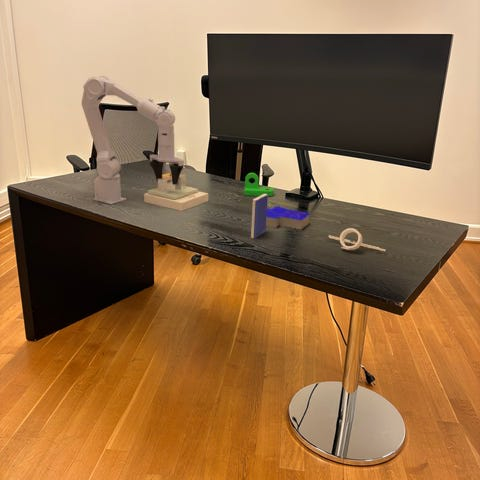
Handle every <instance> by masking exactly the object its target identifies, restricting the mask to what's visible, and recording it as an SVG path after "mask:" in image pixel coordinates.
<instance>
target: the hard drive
mask: <svg viewBox="0 0 480 480" xmlns="http://www.w3.org/2000/svg"><path fill="white" fill-rule="evenodd" d="M268 197H269V196H268V194H263V195H261V196H256V197H255V198H253V199H252V209H251V233H250V238H251V239H257V238H258V237H260V236H261V235H263V234H265V233H266V232H267V229H266V228H267V226H266V217H267V209H268V199H269V198H268Z"/></svg>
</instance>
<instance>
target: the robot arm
mask: <svg viewBox="0 0 480 480" xmlns="http://www.w3.org/2000/svg"><path fill="white" fill-rule="evenodd" d="M82 87H83V92H82V93H83V94H82V98H81V107H82V110H83V113H84V117H85V119H86V122H87V125H88V129H89V132H90V135H91V138H92V140H93V144H94V148H95V150H96V154H97V155H96V158H95V159H96V164H97V165H96V166H97V167H96V172H97V174H98V175H97V176H96V177H95V179H94V181H93V186H94V188H93V189H94V195H95V196H94V198H93V201H97V202H102V203H106V204H108V205H114V204H117V203H120V202H123V201H126V200H127V198H126V197H122V189H121V175H120V173H119V172H120V170H121V169H122V163H121V161H120V160H119V158H118V157H117V155H116V153H115V151H114V150H113V149H112V147H111V143H110V140H109V137H108V133H107V131H106V130H107V129H106V126H105V124H104V121H103V118H102V114H101V112H100V107H99V105H100V103H101V102H102V100H103V99H104V98H105V97H106V96H116V97H118V98H119V99H121V100H123V101H125V102H126V103H128V104H130V105H133V107H136V109H137V112H138V113H139V114H140V115H142V116H144V117H145V118H147V119H149V120H150V121H152V122H155V124H156V125H157V129H158V132H157V141H158V142H157V143H158V144H157V145H158V149H157V150H158V154H150V155H149V161H151V162H149V165H150V167H151V168H152V170H153V173H154V175H155V179H156V182H158V179H159V178H162V175H163V169H164V168H163V167H164V163H165V164H169V163H170V164H174V165H171V166H169V170H170V172H171V174H172V184H173V185H175V184H178V179H179V176H180V174H181V173H182V171H183V169H184V167H185V159H181V158H179V157H176V156H175V131H174V130H175V126H174V124H175V122H176V116H175V114H174V112H173V111H172V110H170V109H166V107H165V106H163V105H162V106H161V105H159V104H157V103H156V102H154V99H152V98H151V97H150V98H148V97H144V98H140V97H139V96H137V95H136V94H134V93H133V92H131V91H130V90H128V89H127V88H125V87H124V86H122V85H121V84H119V83H118V82H116V81H115V80H112V79H110V78H108V77H107V76H105V75H100V76H91V77H89V78H88V79H87V80H86V81H85V83H84V84H83V86H82Z"/></svg>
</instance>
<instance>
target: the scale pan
mask: <svg viewBox="0 0 480 480" xmlns="http://www.w3.org/2000/svg"><path fill="white" fill-rule="evenodd" d="M198 191H199V188H196V187H190V186H187V185H186V188H185V189H183V190H175V192H172V193H169V194H165V193H160V192H158V187H156V188H155V187H154V188H152V189H149V190H147V193H149V194H154V195H158V196H162V197H167V198H171V199H178V198H181V197H183V196H186V195H189V194H192V193H195V192H198Z"/></svg>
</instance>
